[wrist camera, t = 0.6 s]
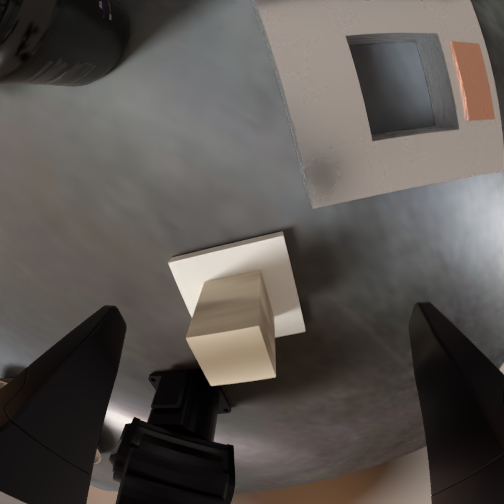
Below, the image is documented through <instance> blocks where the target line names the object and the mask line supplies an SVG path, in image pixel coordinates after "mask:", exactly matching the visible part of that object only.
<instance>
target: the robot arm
mask: <svg viewBox="0 0 504 504" xmlns="http://www.w3.org/2000/svg"><path fill="white" fill-rule="evenodd" d="M125 334H126V323H125V321H124V319H123V317H122V315H121V313H120V311H119V309H118V308H117V307H116V306H111V305H105V306H103V307H102V308H100V309H99V310H98V311H97V312H95V313H94V314H93V315H91V316H90V317H89V318H88V319H86V320H85V321H84V322H82V323H81V324H80V325H79V326H77V327H76V328H75V329H74V330H72V331H71V332H70V333H69V334H67V335H66V336H65V337H64V338H62V339H61V340H60V341H59V342H57V343H56V344H55V345H54V346H52V347H51V348H50V349H49V350H47V351H46V352H45V353H44V354H43V355H41V356H40V357H39V358H38V359H36V360H35V361H34V362H33V363H32V364H30V365H29V367H27V368H26V369H24V370H23V371H22V372H21V373H20V374H19V375H17V376H16V377H15V378H14V379H12V380H11V381H10V382H9V383H7V384H6V385H5V386H3V387H2V388H1V389H0V504H86V502H87V497H88V491H89V486H90V480H91V474H92V470H93V465H94V460H95V456H96V451H97V447H98V443H99V439H100V434H101V430H102V426H103V422H104V419H105V415H106V411H107V407H108V404H109V400H110V396H111V393H112V389H113V386H114V382H115V379H116V375H117V372H118V368H119V363H120V358H121V353H122V348H123V343H124V339H125ZM409 334H410V341H411V349H412V357H413V367H414V375H415V380H416V385H417V390H418V395H419V400H420V406H421V412H422V417H423V424H424V430H425V437H426V444H427V452H428V460H429V470H430V482H431V494H432V496H431V499H432V504H504V374H503V373H502V372H501V371H500V370H499V369H498V368H497V367H496V366H495V365H494V364H493V363H492V362H491V361H490V360H489V359H488V357H487V356H486V355H485V354H484V353H483V352H482V351H481V350H480V349H479V348H478V347H477V346H476V345H475V344H474V343H473V342H472V341H471V340H470V339H469V338H468V337H467V336H466V335H465V334H464V333H463V332H462V331H460V330H459V329H458V328H457V327H456V326H455V325H454V324H453V323H452V322H451V321H450V320H449V319H448V318H447V317H446V316H445V315H444V314H443V313H442V312H440V311H439V310H438V309H437V308H436V307H435V306H434V305H433V304H432V303H431V302H428V301H425V302H417V303H416V304H415V306H414V309H413V312H412V315H411V318H410V321H409ZM148 379H149V381H150V382H151V384H152V385H153V387H154V388H155V390H156V392H155V395H154V398H153V401H152V404H151V408H152V409H151V412H150V415H149V419H148V422H144V421H141V420H140V419H138V418H136V417H134V418H133V421H132V423H131V424H130V423H129V424H125V427H124V430H123V432H122V435H121V437H120V440H119V441H118V443H117V445H116V446H115V448H114V450H113V452H112V453H111V455H110V458H109V461H110V463H111V464H112V466H113V472H114V474H113V480H114V481H116V482H119V483H120V487H119V492H118V496H117V500H116V504H230V503H231V501H232V497H233V494H234V488H235V465H234V446H233V445H229V444H227V445H225V444H220V443H216V442H214V435H215V428H216V421H217V414H223V413H230V412H231V406H230V404H229V402H228V400H227V398H226V396H225V395H224V393H223V391H222V389H221V387H220V385H216V386H211V385H210V383H209V382H208V380H207V378H206V376H205V374H204V372H203V371H202V369H196V370H187V371H177V372H165V373H152V374H150V375H149V378H148Z"/></svg>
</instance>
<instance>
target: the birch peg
mask: <svg viewBox="0 0 504 504" xmlns="http://www.w3.org/2000/svg"><path fill="white" fill-rule="evenodd" d="M186 340H187V342H188V344H189V346H190V348H191V350H192V352H193V354H194V355H195V357H196V359H197V361H198V363H199V365H200V367H201V369H202V371H203V372H204V374H205V376H206V378H207V380H208V382H209V383H210V385H211V386H216V385H225V384H233V383H241V382H249V381H256V380H262V379H269V378H275V377H276V356H275V325H274V314H273V311H272V307H271V304H270V300H269V297H268V293H267V290H266V287H265V283H264V280H263V276H262V273H261V270H257V271H252V272H248V273H243V274H239V275H234V276H229V277H225V278H220V279H215V280H211V281H206V282H204V284H203V287H202V290H201V293H200V296H199V299H198V302H197V305H196V308H195V311H194V314H193V317H192V320H191V323H190V326H189V329H188V332H187V335H186Z"/></svg>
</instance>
